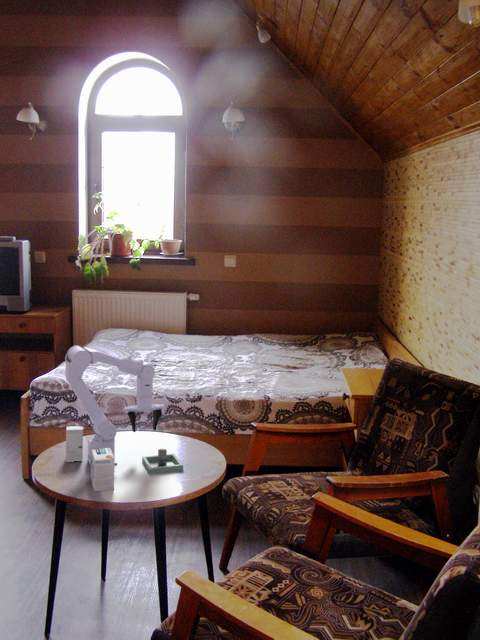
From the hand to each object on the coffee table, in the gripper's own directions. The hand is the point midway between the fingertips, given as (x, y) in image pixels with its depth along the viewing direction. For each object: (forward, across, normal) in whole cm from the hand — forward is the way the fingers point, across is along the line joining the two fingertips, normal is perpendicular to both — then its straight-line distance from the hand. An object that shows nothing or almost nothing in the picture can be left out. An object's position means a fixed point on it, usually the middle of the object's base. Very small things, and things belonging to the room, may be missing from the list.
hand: (144, 430), depth 244 cm
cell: (+10, +4, -12) cm, 16 cm away
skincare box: (+10, -25, +3) cm, 27 cm away
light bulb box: (+10, -19, -22) cm, 31 cm away
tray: (+10, +4, -12) cm, 16 cm away
